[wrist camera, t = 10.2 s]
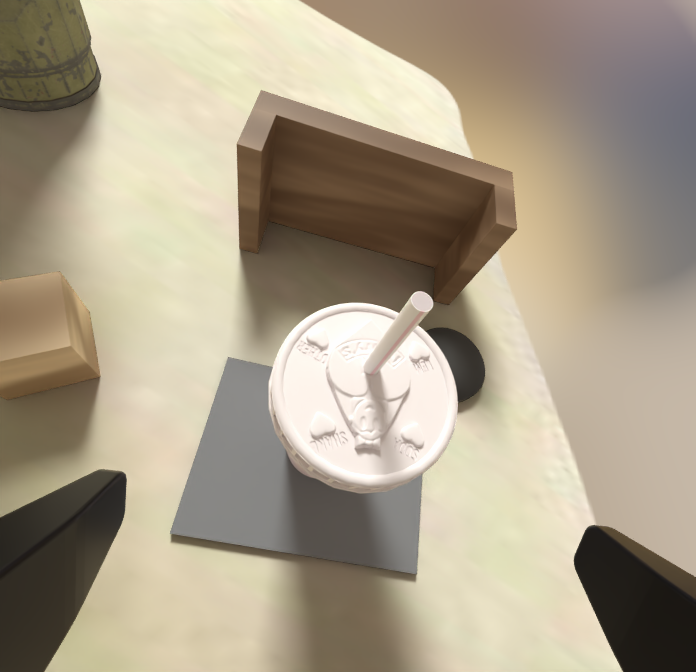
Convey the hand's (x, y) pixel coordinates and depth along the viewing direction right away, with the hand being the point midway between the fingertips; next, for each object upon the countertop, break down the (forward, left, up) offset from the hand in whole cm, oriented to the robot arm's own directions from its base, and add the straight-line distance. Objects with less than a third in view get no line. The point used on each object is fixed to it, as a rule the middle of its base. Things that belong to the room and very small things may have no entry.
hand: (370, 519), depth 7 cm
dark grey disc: (+9, -10, -14) cm, 19 cm away
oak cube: (+9, +13, -14) cm, 21 cm away
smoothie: (+4, -1, -13) cm, 14 cm away
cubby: (+17, -4, -14) cm, 22 cm away
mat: (+3, -1, -14) cm, 14 cm away
